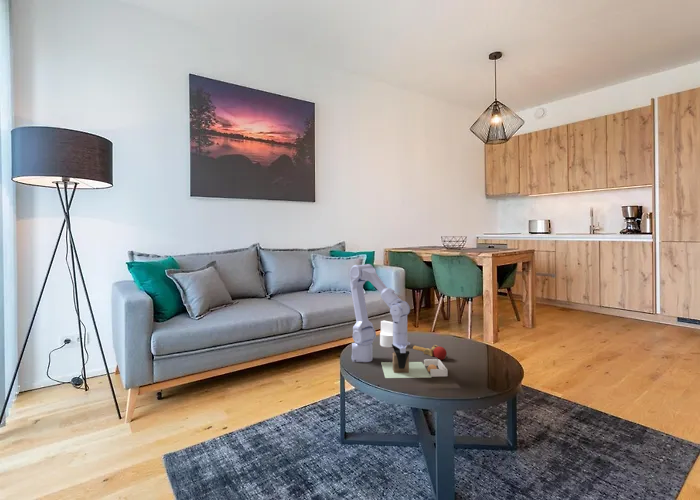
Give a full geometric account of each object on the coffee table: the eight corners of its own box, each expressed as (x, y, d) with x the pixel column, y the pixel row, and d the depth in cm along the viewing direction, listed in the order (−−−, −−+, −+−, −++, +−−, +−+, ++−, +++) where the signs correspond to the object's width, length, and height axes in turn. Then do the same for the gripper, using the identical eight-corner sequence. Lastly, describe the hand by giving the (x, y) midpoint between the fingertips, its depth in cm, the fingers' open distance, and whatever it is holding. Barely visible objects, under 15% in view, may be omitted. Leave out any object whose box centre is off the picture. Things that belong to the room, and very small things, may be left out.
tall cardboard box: (394, 372, 136) (393, 355, 136) (392, 369, 140) (392, 352, 140) (408, 372, 136) (408, 355, 136) (407, 368, 140) (407, 352, 140)
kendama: (409, 356, 164) (439, 361, 150) (409, 342, 165) (439, 346, 151) (419, 355, 168) (450, 360, 155) (419, 342, 170) (450, 346, 156)
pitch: (385, 381, 131) (385, 371, 131) (380, 365, 148) (380, 356, 148) (448, 381, 131) (448, 370, 131) (436, 365, 148) (436, 356, 148)
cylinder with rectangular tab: (376, 344, 178) (376, 322, 178) (387, 341, 184) (387, 319, 184) (389, 348, 171) (389, 325, 171) (400, 344, 178) (400, 322, 177)
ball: (428, 376, 136) (428, 366, 136) (426, 372, 140) (426, 362, 140) (438, 376, 136) (438, 366, 136) (435, 372, 140) (436, 362, 140)
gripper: (413, 336, 130) (413, 371, 131) (406, 327, 145) (407, 358, 145) (395, 336, 130) (395, 371, 130) (390, 327, 145) (390, 358, 145)
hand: (400, 365), depth 138 cm, fingers open, 7 cm apart
